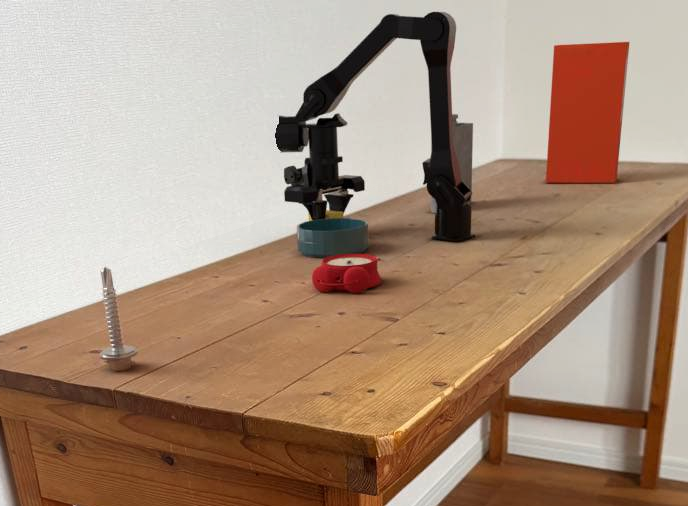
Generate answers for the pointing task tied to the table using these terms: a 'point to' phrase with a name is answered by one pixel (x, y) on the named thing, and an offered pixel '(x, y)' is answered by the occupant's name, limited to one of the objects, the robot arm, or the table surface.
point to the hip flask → (461, 153)
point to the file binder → (586, 112)
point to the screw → (114, 328)
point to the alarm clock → (347, 273)
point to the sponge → (331, 214)
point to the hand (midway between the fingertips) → (327, 232)
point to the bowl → (332, 237)
